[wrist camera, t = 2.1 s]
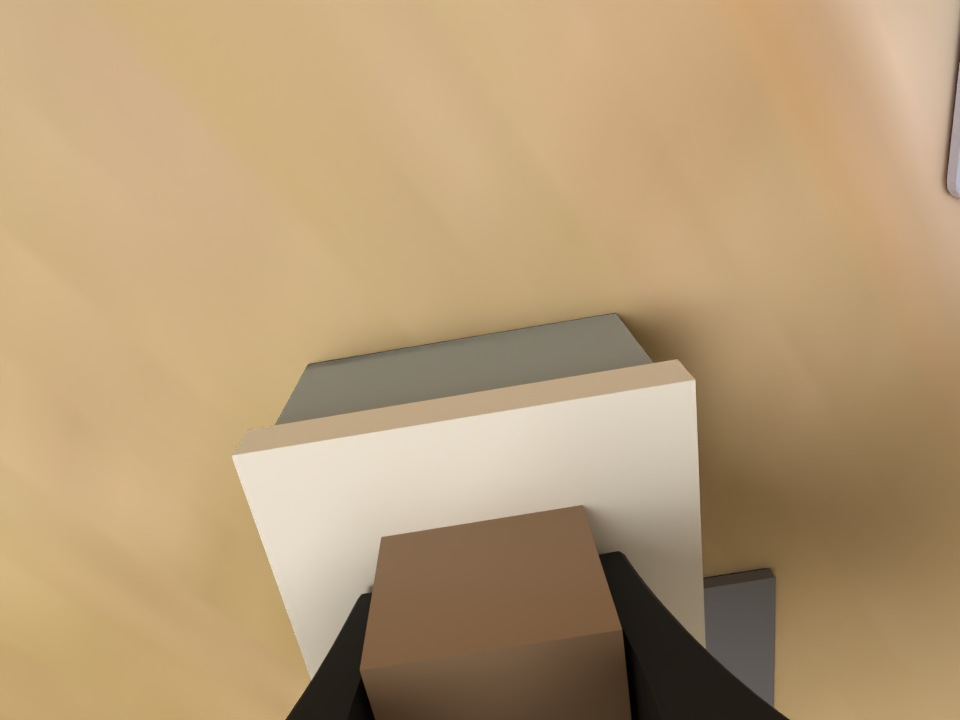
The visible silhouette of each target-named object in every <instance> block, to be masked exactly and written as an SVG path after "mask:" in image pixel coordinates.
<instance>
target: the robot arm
mask: <svg viewBox="0 0 960 720" xmlns="http://www.w3.org/2000/svg"><path fill="white" fill-rule="evenodd" d="M947 189H948V191H949V192H950V194H951V195H952V196H954V197H956V198H957V199H960V64H959V73H958V82H957V91H956V101H955V110H954V119H953V128H952V137H951V146H950V155H949V165H948V174H947ZM598 555H599V558H600V562H601V565H602V568H603V571H604V574H605V577H606V580H607V583H608V587H609V590H610V593H611V596H612V599H613V602H614V605H615V608H616V612H617V615H618V618H619V621H620V624H621V627H622V632H623V641H624V651H625V661H626V671H627V680H628V690H629V700H630V710H631V719H632V720H789V719H788V718H787V717H785V716H784V715H782V714H781V713H780V712H778V711H777V710H776V709H775V708H773V707H772V706H771V705H770V704H768V703H767V702H766V701H764V700H763V699H762V698H761V697H759V696H758V695H757V694H756V693H754V692H753V691H752V690H751V689H750V688H748V687H747V686H746V685H745V684H744V683H742V682H741V681H740V680H739V679H738V678H737V677H735V676H734V675H733V674H732V673H731V672H730V671H729V670H727V669H726V668H725V667H724V666H723V665H722V664H721V663H720V662H719V661H718V660H717V659H715V658H714V657H713V656H712V655H711V654H710V653H709V652H708V651H707V650H706V649H705V648H704V647H703V646H702V645H701V644H700V643H699V642H698V641H697V640H696V639H695V638H694V637H693V636H692V635H691V634H690V633H689V632H688V631H687V630H686V629H685V628H684V627H683V626H682V625H681V623H680V622H679V621H678V620H677V619H676V618H675V617H674V616H673V615H672V614H671V613H670V611H669V610H668V609H667V608H666V607H665V606H664V605H663V604H662V602H661V601H660V600H659V599H658V598H657V597H656V595H655V594H654V593H653V592H652V591H651V589H650V588H649V587H648V586H647V584H646V583H645V582H644V581H643V579H642V578H641V577H640V576H639V574H638V573H637V572H636V570H635V569H634V567H633V566H632V565H631V563H630V562H629V560H628V559H627V557H626V556H625V554H623V553H622V552H620V551H616V552H610V553H604V554H598ZM371 597H372V592H371V593H365V594H361V595H360V597H359V598H358V599H357V601H356V603H355V605H354V607H353V609H352V610H351V612H350V614H349V616H348V618H347V620H346V622H345V623H344V625H343V627H342V629H341V631H340V633H339V634H338V636H337V638H336V640H335V641H334V643H333V645H332V647H331V649H330V650H329V652H328V654H327V655H326V657H325V659H324V660H323V662H322V664H321V665H320V667H319V669H318V670H317V672H316V674H315V675H314V677H313V679H312V680H311V682H310V684H309V685H308V687H307V688H306V690H305V691H304V693H303V694H302V696H301V697H300V699H299V700H298V702H297V703H296V705H295V706H294V708H293V709H292V711H291V712H290V714H289V715H288V717H287V718H286V720H375V718H374V715H373V711H372V708H371V705H370V702H369V699H368V695H367V692H366V689H365V686H364V683H363V680H362V676H361V673H360V665H361V659H362V652H363V646H364V640H365V634H366V628H367V622H368V615H369V609H370V603H371Z"/></svg>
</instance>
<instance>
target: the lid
mask: <svg viewBox="0 0 960 720" xmlns="http://www.w3.org/2000/svg"><path fill="white" fill-rule="evenodd" d="M232 459H233V461H234V464H235V467H236V470H237V473H238V475H239V478H240V481H241V484H242V487H243V489H244V492H245V495H246V498H247V501H248V503H249V506H250V509H251V512H252V515H253V518H254V520H255V523H256V526H257V529H258V532H259V534H260V537H261V540H262V543H263V546H264V548H265V551H266V554H267V557H268V560H269V562H270V565H271V568H272V571H273V574H274V577H275V579H276V582H277V585H278V588H279V591H280V593H281V596H282V599H283V602H284V605H285V607H286V610H287V613H288V616H289V619H290V621H291V624H292V627H293V630H294V633H295V636H296V638H297V641H298V644H299V647H300V650H301V652H302V655H303V658H304V661H305V664H306V666H307V669H308V672H309V675H310V678H311V680H312V679H313V677H314V675H315V674H316V672H317V670H318V669H319V667H320V665H321V664H322V662H323V660H324V659H325V657H326V655H327V654H328V652H329V650H330V649H331V647H332V645H333V643H334V641H335V640H336V638H337V636H338V634H339V633H340V631H341V629H342V627H343V625H344V623H345V622H346V620H347V618H348V616H349V614H350V612H351V610H352V609H353V607H354V605H355V603H356V601H357V599H358V598H359V597H360V595H361V594H365V593H371V592H372V597H371V603H370V609H369V615H368V622H367V628H366V634H365V640H364V646H363V652H362V659H361V665H360V673H361V676H362V680H363V683H364V686H365V689H366V692H367V695H368V699H369V702H370V705H371V708H372V711H373V715H374V718H375V720H632V719H631V710H630V700H629V690H628V680H627V671H626V661H625V651H624V641H623V632H622V627H621V624H620V621H619V618H618V615H617V612H616V608H615V605H614V602H613V599H612V596H611V593H610V590H609V587H608V583H607V580H606V577H605V574H604V571H603V568H602V565H601V562H600V558H599V555H598V554H604V553H610V552H616V551H620V552H622V553H623V554H625V556H626V557H627V559H628V560H629V562H630V563H631V565H632V566H633V567H634V569H635V570H636V572H637V573H638V574H639V576H640V577H641V578H642V579H643V581H644V582H645V583H646V584H647V586H648V587H649V588H650V589H651V591H652V592H653V593H654V594H655V595H656V597H657V598H658V599H659V600H660V601H661V602H662V604H663V605H664V606H665V607H666V608H667V609H668V610H669V611H670V613H671V614H672V615H673V616H674V617H675V618H676V619H677V620H678V621H679V622H680V623H681V625H682V626H683V627H684V628H685V629H686V630H687V631H688V632H689V633H690V634H691V635H692V636H693V637H694V638H695V639H696V640H697V641H698V642H699V643H700V644H701V645H702V646H703V647H704V648H705V649H706V640H705V614H704V589H703V563H702V537H701V512H700V486H699V460H698V435H697V409H696V383H695V379H694V378H693V376H692V375H691V374H690V373H689V372H688V371H687V370H686V368H685V367H684V366H683V365H682V364H681V363H680V361H679V360H678V359H675V360H669V361H663V362H657V363H651V364H645V365H639V366H633V367H627V368H621V369H615V370H609V371H602V372H596V373H590V374H584V375H578V376H572V377H566V378H560V379H554V380H548V381H542V382H536V383H529V384H523V385H517V386H511V387H505V388H499V389H493V390H487V391H481V392H475V393H469V394H463V395H456V396H450V397H444V398H438V399H432V400H426V401H420V402H414V403H408V404H402V405H396V406H390V407H384V408H377V409H371V410H365V411H359V412H353V413H347V414H341V415H335V416H329V417H323V418H317V419H311V420H304V421H298V422H292V423H286V424H280V425H274V426H268V427H262V428H256V429H250V430H247V431H246V433H245V435H244V436H243V438H242V439H241V441H240V443H239V444H238V446H237V448H236V449H235V451H234V452H233V454H232Z"/></svg>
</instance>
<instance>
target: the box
mask: <svg viewBox="0 0 960 720" xmlns="http://www.w3.org/2000/svg"><path fill="white" fill-rule="evenodd" d="M651 363H653V362H652V360H651V359H650V358H649V356H648V355H647V354H646V352H645V351H644V350H643V348H642V347H641V346H640V344H639V343H638V342H637V341H636V339H635V338H634V337H633V335H632V334H631V333H630V331H629V330H628V329H627V327H626V326H625V325H624V323H623V322H622V321H621V319H620V318H619V317H618V316H617V314H616V313H614V314H608V315H602V316H596V317H590V318H584V319H578V320H572V321H566V322H560V323H554V324H548V325H542V326H536V327H530V328H524V329H518V330H512V331H506V332H500V333H494V334H488V335H482V336H476V337H470V338H464V339H458V340H452V341H446V342H440V343H434V344H428V345H422V346H416V347H410V348H404V349H398V350H392V351H386V352H380V353H374V354H368V355H362V356H356V357H350V358H344V359H338V360H332V361H326V362H320V363H314V364H308V365H307V367H306V369H305V371H304V373H303V374H302V376H301V378H300V380H299V382H298V384H297V385H296V387H295V389H294V391H293V393H292V395H291V396H290V398H289V400H288V402H287V404H286V406H285V407H284V409H283V411H282V413H281V415H280V417H279V418H278V420H277V422H276V424H275V425H280V424H286V423H292V422H298V421H304V420H311V419H317V418H323V417H329V416H335V415H341V414H347V413H353V412H359V411H365V410H371V409H377V408H384V407H390V406H396V405H402V404H408V403H414V402H420V401H426V400H432V399H438V398H444V397H450V396H456V395H463V394H469V393H475V392H481V391H487V390H493V389H499V388H505V387H511V386H517V385H523V384H529V383H536V382H542V381H548V380H554V379H560V378H566V377H572V376H578V375H584V374H590V373H596V372H602V371H609V370H615V369H621V368H627V367H633V366H639V365H645V364H651Z"/></svg>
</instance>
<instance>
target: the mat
mask: <svg viewBox="0 0 960 720" xmlns="http://www.w3.org/2000/svg"><path fill="white" fill-rule="evenodd" d="M775 582H776V577H775V576H774V574H773V573H772V571H771V570H770V568H769V569H763V570H756V571H750V572H744V573H737V574H731V575H724V576H718V577H711V578H705V579H703V589H704V614H705V640H706V650H707V651H708V652H709V653H710V654H711V655H712V656H713V657H714V658H715V659H717V660H718V661H719V662H720V663H721V664H722V665H723V666H724V667H725V668H726V669H727V670H729V671H730V672H731V673H732V674H733V675H734V676H735V677H737V678H738V679H739V680H740V681H741V682H742V683H744V684H745V685H746V686H747V687H748V688H750V689H751V690H752V691H753V692H754V693H756V694H757V695H758V696H759V697H761V698H762V699H763V700H764V701H766V702H767V703H768V704H770V705H771V706H772V707H773V708H774V650H775Z"/></svg>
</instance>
